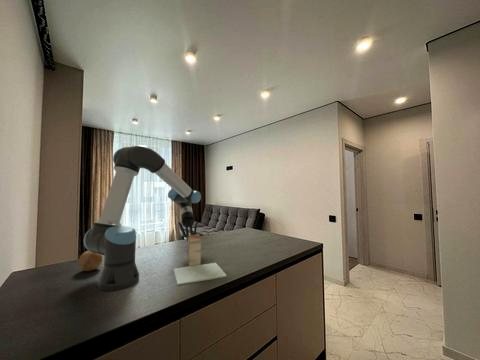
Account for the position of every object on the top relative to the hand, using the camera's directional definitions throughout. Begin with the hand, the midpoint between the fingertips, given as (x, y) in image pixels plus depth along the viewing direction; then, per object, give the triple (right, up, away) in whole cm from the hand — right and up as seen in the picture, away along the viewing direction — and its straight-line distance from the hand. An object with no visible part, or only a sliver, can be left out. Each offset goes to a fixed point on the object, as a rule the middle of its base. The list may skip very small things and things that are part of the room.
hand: (191, 246), depth 120 cm
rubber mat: (+9, -6, -22) cm, 24 cm away
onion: (-46, -6, -19) cm, 50 cm away
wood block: (+4, -7, -9) cm, 12 cm away
